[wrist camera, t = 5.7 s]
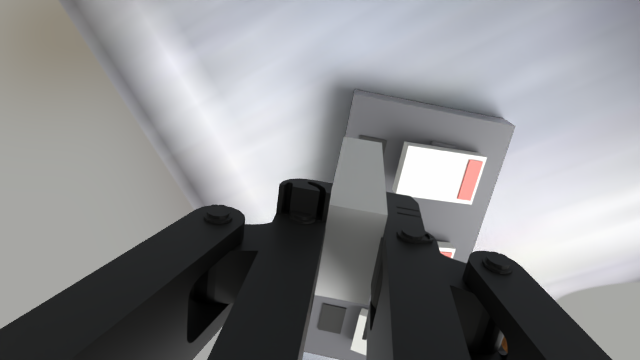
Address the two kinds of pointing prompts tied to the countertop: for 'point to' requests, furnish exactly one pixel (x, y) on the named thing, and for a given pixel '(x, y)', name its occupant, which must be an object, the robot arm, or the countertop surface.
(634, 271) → the countertop surface
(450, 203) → the power strip
